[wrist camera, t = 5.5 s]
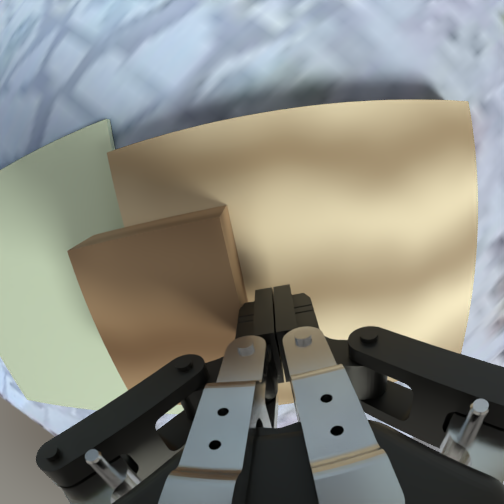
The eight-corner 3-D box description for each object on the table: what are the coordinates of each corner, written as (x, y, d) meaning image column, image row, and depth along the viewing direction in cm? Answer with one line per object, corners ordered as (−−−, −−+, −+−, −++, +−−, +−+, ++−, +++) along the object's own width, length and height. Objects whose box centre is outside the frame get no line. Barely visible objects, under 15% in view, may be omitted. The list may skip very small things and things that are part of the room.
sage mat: (-52, 206, 16) (-55, 207, 15) (109, 119, 14) (106, 118, 14) (29, 397, 22) (27, 399, 22) (199, 409, 20) (198, 413, 20)
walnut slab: (93, 235, 14) (67, 251, 12) (227, 205, 13) (219, 217, 11) (148, 376, 17) (136, 404, 14) (263, 367, 16) (263, 398, 14)
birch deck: (124, 151, 15) (106, 152, 13) (448, 104, 13) (468, 101, 11) (197, 391, 20) (192, 411, 18) (446, 345, 18) (458, 361, 16)
